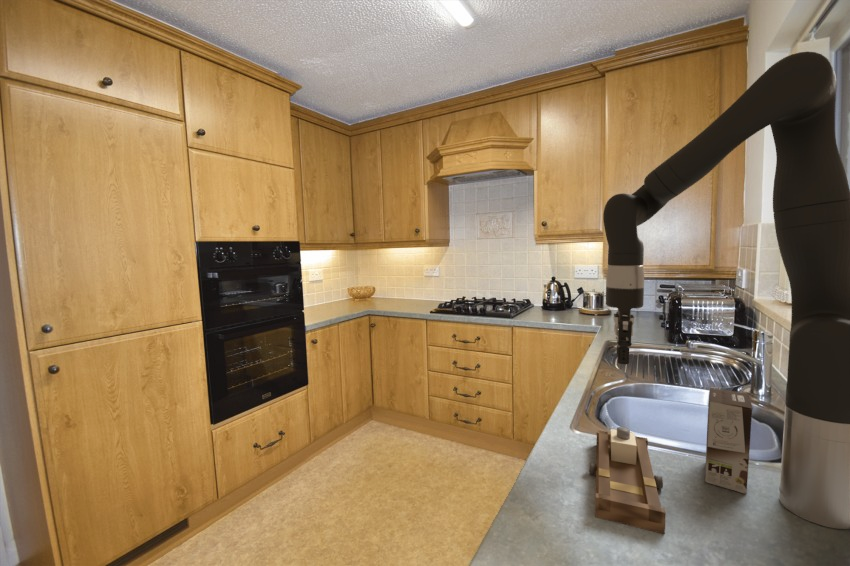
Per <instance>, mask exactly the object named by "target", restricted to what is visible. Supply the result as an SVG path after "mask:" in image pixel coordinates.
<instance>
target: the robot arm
mask: <svg viewBox="0 0 850 566" xmlns="http://www.w3.org/2000/svg"><path fill="white" fill-rule="evenodd" d="M837 79H838V78H837V75H836V72H835V70H834V67H833V64H832V63H831V61H830V59H828V57H826V56H825V55H823V53H819V52H816V51H802V52H797V53H793V54H790V55H789V54H788V55H787V56H785V57H783V58H781V59H780V60H778V61H776V62H774V63H773V64H772V65H771V66H770V67H769V68H768V69H767V70H766V71H765V72H763V74H761V75H760V76H759V77H758V78H757V79H756V80H755V81H754V82H753V83H752V84H751V85H750V86H749V87H748V88H747V89H746V91H744V92H743V93H742V95H740V96H739V97H738V98H737V100H735V101H734V102H733V103H732V104H731V105H730V106H729V107H728V108H727V109H726V110H724V112H723V113H722V114H720V115H719V116H718V117H717V118H716V119H715V120H714V121H713V122H712V123H710V124H709V125H708V126H707V127H706V128H705V129H703V130H702V131H701V132H700V133H699V134H698V135H697V136H695V137H693V139H691V140H690V141H689V142H688V143H686V144H685V145H684V146H682V147H681V148H680V149H679V150H677V151H676V152H675V153H673V154H672V155H671V156H670V157H668V158H667V159H666V160H664V161H663V162H662V163H661V164H660V165H658V166H656V167H655V168H654V169H653V170H652V171H650V172H649V173H648V174H647V175H646V176H645V178H644V180H643V185H641V186H640V187H639V188H638V189H637V190H636V191H635V192H633V193H632V194H630V193H617V194H615V195H612V197H610V198H609V199H608V200H607V202H606V203H605V206H604V208H603V216H602V217H603V218H602V219H603V226H604V232H605V237H606V238H605V239H606V241H607V245H608V250H607V268H606V275H605V276H606V277H605V280H606V281H605V305H606V306H607V307H609V308H614V309H615V308H617V311H616V312H615V313H613V323H614V335H615V339H616V358H617V363H618V364H620V365H629V364H630V348H631V347H632V344H633V343H632V337H633V335H634V324H635V316H634V314H631V310H632V309H634V310H635V309H640V308H642V307H644V298H645V297H644V296H645V295H644V291H645V271H644V270H645V269H644V254H645V250H644V249H645V247H644V246H645V245H644V243H643V241H642V240H641V239H640V238H639V235H638V227H639V226H640V225H643V224H645V223H646V222H647V221H649V220H650V219H652V218H653V217H654V216H655V215H656V214H657V213H658V212H659V211H660V210H662V209H663V208H664V207H665V206H666V205H667V204H668V203H669V201H671V200H673V199H674V198H676V197H677V196H679V195H680V194H682V193H683V192H685V191H686V190H688V189H689V188H691V187H692V186H694V185H695V184H696V183H698V182H699V181H700V180H702V179H703V178H704V177H705V176H707V175H708V174H709V173H710V172H712V170H714V169H715V168H716V167H717V166H718V165H719V164H720V163H721V162H722V161H723V160H724V159H726V158H727V156H728V155H729V154H730V153H731V152H733V151H734V150H735V149H736V148H738V146H740V145H741V144H742V143H744V142H746V141H747V140H749V138H751V137H752V136H753V135H755V134H757V133H758V132H759V131H762V130H763V129H764V128H766V127H769V126H770V129H771V133H772V137H773V141H774V142H773V143H774V146H775V152H776V153H775V155H776V164H775V172H774V180H773V191H772V212H773V220H774V229H775V236H776V240H777V245H778V250H779V253H780V256H781V261H782V263H783V267H784V269H785V272H786V275H787V277H788V282H789V287H790V297H791V316H790V317H791V319H790V320H791V321H790V322H791V323H790V332H789V342H788V343H789V345H788V358H787V359H788V363H787V378H786V386H785V387H786V388H785V400H784V401H785V404H784V416H783V417H784V419H783V432H782V433H783V435H782V448H781V449H782V450H781V451H782V452H781V464H780V480H779V493H778V494H779V495H778V496H779V497H778V498H779V499H778V500H779V503H781V505H782V506H783V507H784V508H785V509H786V510H787V511H790V512H791V513H793V514H795V516H798V517H799V518H802V519H804V520H806V521H808V522H812V523H814V524H817V525H820V526H823V527H826V528H832V529H839V530H849V529H850V185H849V181H848V178H847V174H846V169H845V166H844V163H843V160H842V156H841V154H840V151H839V148H838V144H837V137H836V99H837V98H836V97H837V87H838V86H837V85H838V80H837Z"/></svg>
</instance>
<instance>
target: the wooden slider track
mask: <svg viewBox="0 0 850 566" xmlns="http://www.w3.org/2000/svg"><path fill="white" fill-rule="evenodd" d="M610 439H611V431H604V430H598V429H596V445H595V446H596V451H595V452H596V454H595V455H596V456H595V458H596V459H595V463H591V462H589V466H588V467H589V468H588V469H589V471H588V472H589V473H588V474H589V475H594V476H595V499H594V500H595V501H594V502H595V503H594V504H595V505H594V506H595V509H594V510H595V511H594V517H595V518H598V519H602V520H606V521H610V522H615V523H619V524H623V525H626V526H631V527H635V528H640V529H642V530H643V529H644V530H647V531H651V532H656V533H659V534H664V535H665V534H666V517H667V516H666V510H665V509H666V508H665V507H662V505H661V502H660V497H659V492H658V489H663V488H664V487H663V486H664V483H663V482H664V481H663V476H660V475H656V474H655V475H654V471H653V466H652V462H651V457H650V454H649V450H648V444H649V439H648V438H647V437H642V436H637V435H635V439H636V445H637V452H636V465H633V464H627V463H622V462H617V461H611V451H610Z"/></svg>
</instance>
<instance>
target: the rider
mask: <svg viewBox="0 0 850 566" xmlns="http://www.w3.org/2000/svg"><path fill="white" fill-rule="evenodd" d="M610 432H611V439H610V451H611V461H617V462H622V463H627V464H633V465H636V452H637V445H636V439H635V436H636V435H635V432H633V431H631V430H630V429H629V428H627V427H624V426H617V428H616V429H614V428H610Z"/></svg>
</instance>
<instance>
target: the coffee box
mask: <svg viewBox="0 0 850 566" xmlns="http://www.w3.org/2000/svg"><path fill="white" fill-rule="evenodd" d="M708 393H709V394H708V407H707V423H706V424H707V425H706V446H705V447H706V448H705V450H706V452H705V476H704V477H705V478H704V480H705V483H707V484H710V485H713V486H716V487H717V486H718V487H721V488H724V489H728V490H731V491H735V492H737V493H741V494H747V491H748V476H749V463H750V447H751V436H752V435H751V431H752V416H753V405H752V402H751V398H750V394H749V393H745V392H741V391H734V390H727V389H726V390H725V389H718V388H714V387H713V388H711V387H709V392H708Z"/></svg>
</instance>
